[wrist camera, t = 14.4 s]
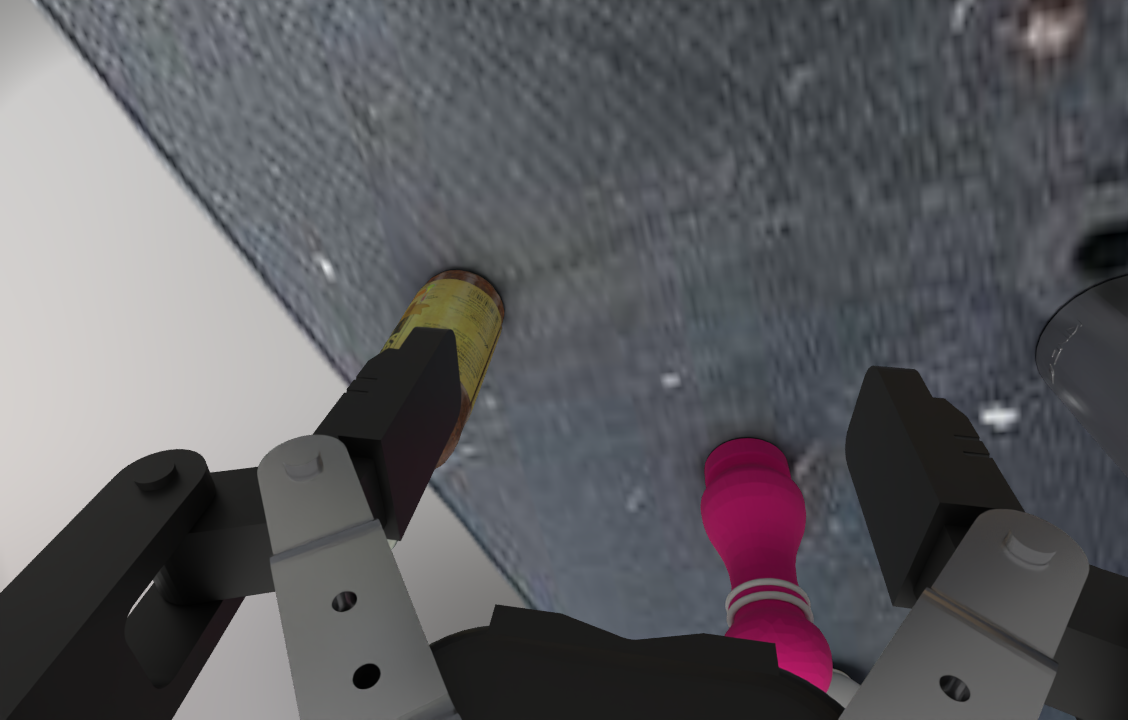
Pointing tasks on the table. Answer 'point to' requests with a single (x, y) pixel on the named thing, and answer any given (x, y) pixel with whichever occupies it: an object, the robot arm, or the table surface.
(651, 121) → the table surface
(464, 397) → the sauce bottle
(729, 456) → the pepper mill
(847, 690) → the lidded jar
